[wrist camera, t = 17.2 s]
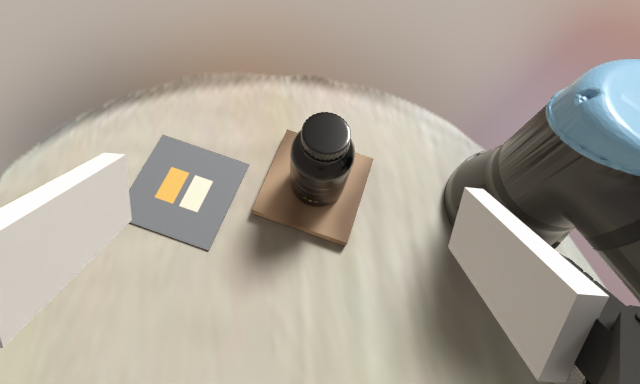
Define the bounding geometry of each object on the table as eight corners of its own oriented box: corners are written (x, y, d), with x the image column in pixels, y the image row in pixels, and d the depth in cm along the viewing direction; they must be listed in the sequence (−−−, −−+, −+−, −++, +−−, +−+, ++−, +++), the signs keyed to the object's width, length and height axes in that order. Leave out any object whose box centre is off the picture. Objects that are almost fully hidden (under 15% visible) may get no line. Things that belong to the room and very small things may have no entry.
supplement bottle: (298, 152, 47) (303, 93, 36) (349, 167, 47) (369, 113, 36) (282, 200, 44) (281, 151, 33) (336, 216, 44) (353, 172, 33)
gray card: (249, 165, 47) (248, 164, 47) (208, 250, 43) (208, 250, 42) (163, 135, 48) (162, 134, 47) (113, 216, 43) (113, 216, 43)
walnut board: (370, 164, 49) (373, 158, 48) (345, 246, 44) (347, 243, 43) (287, 135, 49) (287, 129, 48) (252, 213, 45) (251, 209, 43)
